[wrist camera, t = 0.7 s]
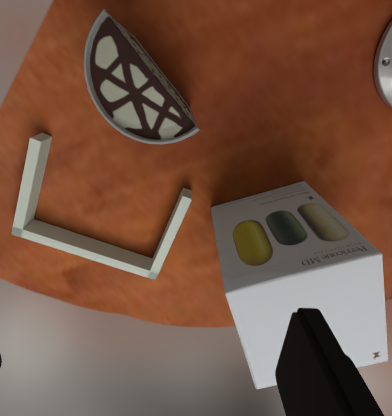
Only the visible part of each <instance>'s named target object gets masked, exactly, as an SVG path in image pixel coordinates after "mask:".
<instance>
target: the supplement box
mask: <svg viewBox="0 0 392 416" xmlns="http://www.w3.org/2000/svg"><path fill="white" fill-rule="evenodd" d="M211 214H212V220H213V226H214V232H215V238H216V244H217V250H218V255H219V261H220V267H221V273H222V278H223V284H224V290H225V295H226V298H227V301H228V303H229V306H230V309H231V312H232V315H233V318H234V322H235V325H236V328H237V331H238V334H239V337H240V340H241V343H242V347H243V349H244V353H245V356H246V359H247V362H248V365H249V369H250V372H251V375H252V378H253V381H254V384H255V387H256V389H261V388H265V387H269V386H274V385H277V383H276V377H275V370H276V366H277V363H278V360H279V356H280V353H281V349H282V346H283V342H284V339H285V336H286V332H287V329H288V325H289V322H290V319H291V315H292V313H293V312H297V310H298V309H299V308H317V309H319V310H320V311H321V313H322V315H323V316H324V318H325V320H326V322H327V323H328V325H329V327H330V329H331V330H332V332H333V334H334V336H335V338H336V339H337V341H338V343H339V345H340V346H341V348H342V350H343V352H344V353H345V354H346V355H347V356H348V357H350V359H351V360H352V361H353V363H354V365H355V366H356V368H357V367H361V366H366V365H371V364H375V363H380V362H385V361H388V355H387V354H388V353H387V333H386V314H385V296H384V278H383V261H382V253H381V252H379V251H378V250H377V249H376V248H375V247H374V246H373V245H372V244H371V243H370V242H369V241H368V240H367V239H366V238H365V237H363V236H362V235H361V234H360V233H359V232H358V231H357V230H356V229H355V228H354V227H353V226H352V225H351V224H350V223H349V222H347V221H346V220H345V219H344V218H343V217H342V216H341V215H340V214H339V213H338V212H337V211H336V210H335V209H334V208H333V207H331V206H330V205H329V204H328V203H327V202H326V201H325V200H324V199H323V198H322V197H321V196H320V195H319V194H318V193H317V192H315V191H314V190H313V189H312V188H311V187H310V186H309V185H308V184H307V183H306V182H305V181H302V182H299V183H295V184H292V185H288V186H284V187H281V188H277V189H274V190H270V191H267V192H263V193H260V194H256V195H252V196H249V197H245V198H242V199H238V200H235V201H231V202H228V203H224V204H221V205H217V206H213V207H211Z"/></svg>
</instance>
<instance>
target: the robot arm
mask: <svg viewBox="0 0 392 416" xmlns="http://www.w3.org/2000/svg"><path fill="white" fill-rule="evenodd" d="M382 61H383V63H382ZM374 80H375V85H376V88H377V91H378V93H379V95H380V96H381V98H382V99H383V101H384V102H385V103H386V104H387V105H388V106H389V107H391V108H392V21H391V22H390V23H389V25H388V27H387V28H386V30H385V32H384V33H383V35H382V38H381V40H380V42H379V45H378V47H377V51H376V55H375V60H374ZM1 362H2V361H1V355H0V367H1ZM275 377H276V383H277V386H278V389H279V393H280V396H281V400H282V403H283V407H284V409H285V413H286V416H384V415H383V413H382V411H381V409H380V408H379V406H378V404H377V402H376V401H375V399H374V397H373V396H372V394H371V392H370V390H369V389H368V387H367V385H366V383H365V382H364V380H363V378H362V377H361V375H360V373H359V371H358V370H357V368H356V366H355V365H354V363H353V361H352V360H351V359H350V357H348V356H347V355H346V354H345V353H344V352H343V350H342V348H341V346H340V345H339V343H338V341H337V339H336V338H335V336H334V334H333V332H332V330H331V329H330V327H329V325H328V323H327V322H326V320H325V318H324V316H323V315H322V313H321V311H320V310H319V309H317V308H299V309H298V310H297V312H293V313H292V315H291V319H290V322H289V325H288V329H287V332H286V336H285V339H284V342H283V346H282V349H281V353H280V356H279V360H278V363H277V366H276V370H275Z"/></svg>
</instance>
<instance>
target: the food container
mask: <svg viewBox="0 0 392 416" xmlns="http://www.w3.org/2000/svg"><path fill="white" fill-rule="evenodd" d="M84 72H85V79H86V83H87V87H88V90H89V93H90V95H91V98H92V100H93V102H94V104H95V105H96V107H97V109H98V110H99V112H100V113H101V114H102V116H103V117H104V118H105V119H106V120H107V121H108V122H109V123H110V124H111V125H112V126H113V127H114V128H115V129H117V130H118V131H119V132H121V133H122V134H124V135H126V136H128V137H130V138H132V139H134V140H137V141H140V142H144V143H149V144H168V143H174V142H178V141H181V140H184V139H186V138H188V137H190V136H192V135H194V134H195V133H197V132H198V131H200V130H201V129H200V128H198V127H197V125H196V122H195V119H194V117H193V114H192V111H191V108H190V107H189V106H188V104H187V103H186V102H185V100H184V99H183V98H182V97H181V95H180V94H179V93H178V91H177V90H176V89H175V88H174V86H173V85H172V84H171V82H170V81H169V80H168V79H167V77H166V76H165V75H164V73H163V72H162V71H161V70H160V68H159V67H158V66H157V64H156V63H155V62H154V61H153V59H152V58H151V57H150V55H149V54H148V53H147V52H146V50H145V49H144V48H143V47H142V45H141V44H140V43H139V41H138V40H137V39H136V38H135V36H134V35H132V34H131V33H130V32H129V31H128V30H127V29H125V28H124V27H123V26H122V25H121V24H120V23H118V22H117V21H116V20H115V19H114V18H113V17H111V16H110V15H109V14H108V13H107V10H106V9H103V10H102V11H101V13H100V14H99V15H98V17H97V18H96V20H95V21H94V23H93V25H92V27H91V29H90V32H89V34H88V37H87V40H86V45H85V51H84Z"/></svg>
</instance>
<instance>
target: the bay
mask: <svg viewBox="0 0 392 416" xmlns="http://www.w3.org/2000/svg"><path fill="white" fill-rule="evenodd" d="M51 140H52V136H49V135H47V134H44V133H40V134H38V135H35V136H33V137H31V138H30V141H29V146H28V151H27V156H26V161H25V167H24V172H23V177H22V182H21V187H20V192H19V197H18V202H17V208H16V213H15V218H14V223H13V228H12V233H11V234H13V235H16V236H19V237H22V238H25V239H28V240H31V241H34V242H38V243H41V244H44V245H47V246H50V247H53V248H56V249H59V250H63V251H66V252H69V253H72V254H75V255H78V256H81V257H84V258H88V259H91V260H94V261H97V262H100V263H103V264H106V265H109V266H113V267H116V268H119V269H122V270H125V271H128V272H131V273H134V274H138V275H141V276H144V277H147V278H150V279H153V280H156V278H157V275H158V273H159V271H160V269H161V267H162V264H163V262H164V260H165V258H166V255H167V253H168V251H169V249H170V247H171V244H172V242H173V240H174V238H175V236H176V233H177V231H178V229H179V227H180V224H181V222H182V220H183V218H184V216H185V213H186V211H187V209H188V207H189V205H190V202H191V200H192V190H189V189H186V188H184V187H183V189H182V191H181V193H180V196H179V198H178V200H177V203H176V205H175V207H174V210H173V212H172V214H171V217H170V219H169V221H168V224H167V226H166V228H165V231H164V233H163V235H162V238H161V240H160V242H159V244H158V247H157V249H156V251H155V254H154V256H153V258H149V257H146V256H143V255H140V254H137V253H134V252H131V251H128V250H125V249H122V248H119V247H116V246H113V245H110V244H107V243H104V242H102V241H99V240H96V239H93V238H90V237H87V236H84V235H81V234H78V233H75V232H72V231H69V230H66V229H63V228H60V227H57V226H54V225H51V224H48V223H45V222H42V221H39V220H36V219H34V216H35V212H36V207H37V203H38V198H39V194H40V189H41V185H42V181H43V176H44V172H45V167H46V163H47V158H48V154H49V149H50V145H51Z"/></svg>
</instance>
